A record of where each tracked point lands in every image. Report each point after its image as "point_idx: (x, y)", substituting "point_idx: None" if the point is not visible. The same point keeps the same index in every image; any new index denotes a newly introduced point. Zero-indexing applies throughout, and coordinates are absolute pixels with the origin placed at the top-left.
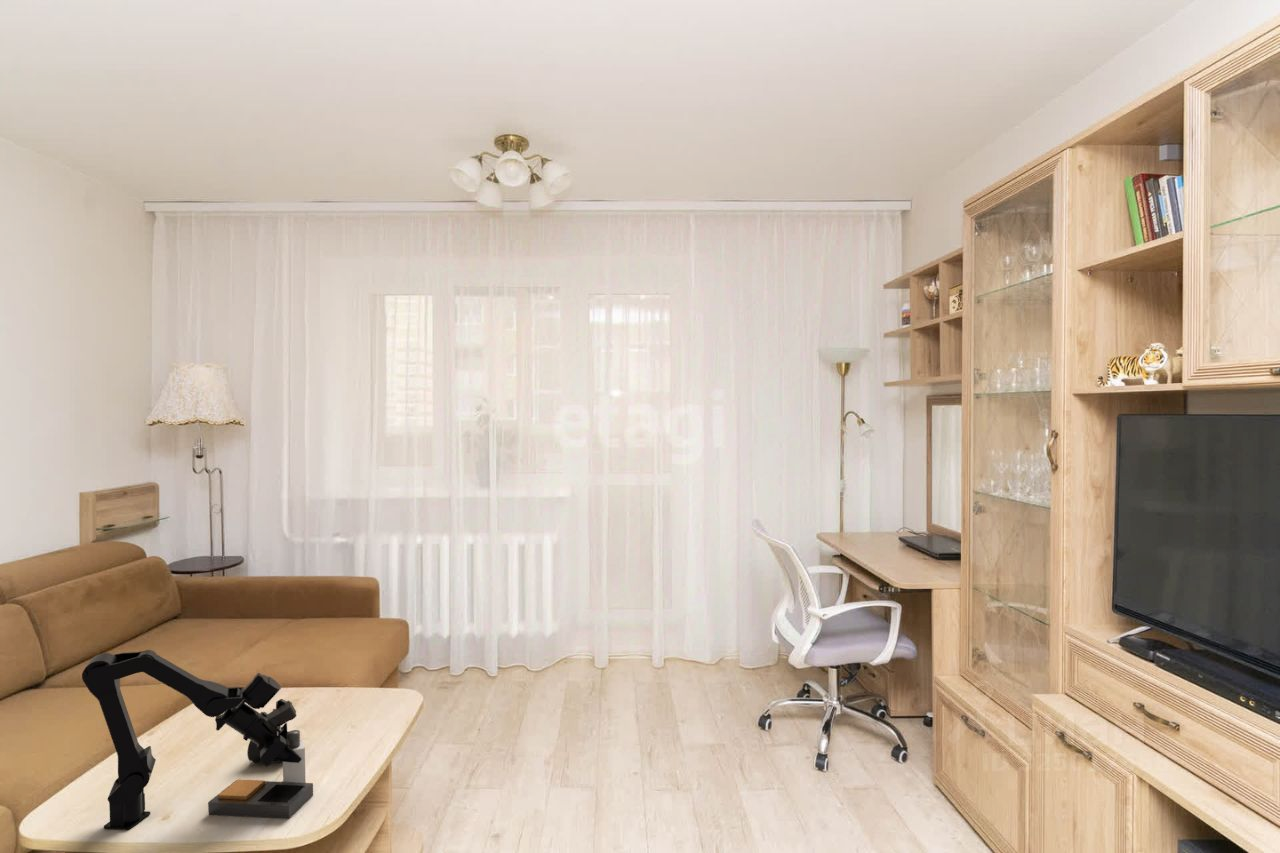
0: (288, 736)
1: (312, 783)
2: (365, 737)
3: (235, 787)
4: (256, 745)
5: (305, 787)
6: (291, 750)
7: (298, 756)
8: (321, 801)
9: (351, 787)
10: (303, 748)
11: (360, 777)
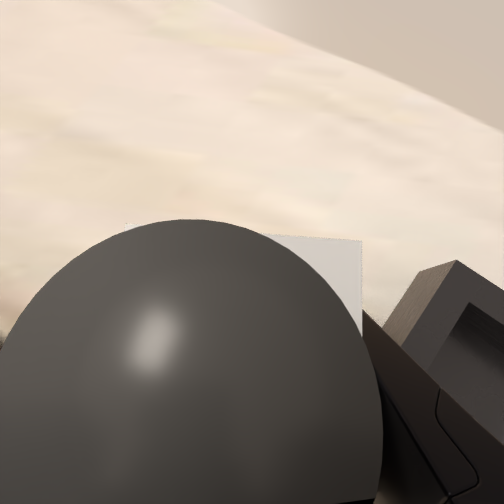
0: None
1: (460, 262)
2: (10, 27)
3: None
4: None
5: (494, 303)
6: (475, 422)
7: (368, 317)
8: (493, 247)
9: (422, 127)
10: (360, 254)
11: (352, 88)
